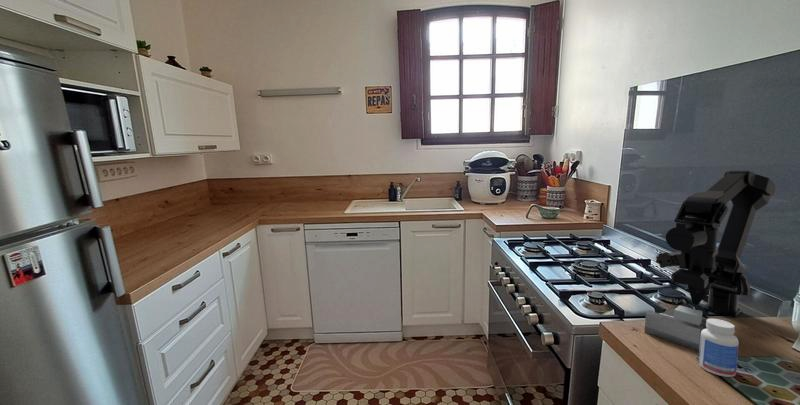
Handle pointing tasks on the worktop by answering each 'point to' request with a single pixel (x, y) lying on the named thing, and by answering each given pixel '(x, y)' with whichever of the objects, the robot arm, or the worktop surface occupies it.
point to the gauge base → (674, 328)
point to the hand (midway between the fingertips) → (695, 304)
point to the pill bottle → (719, 348)
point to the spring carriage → (687, 315)
